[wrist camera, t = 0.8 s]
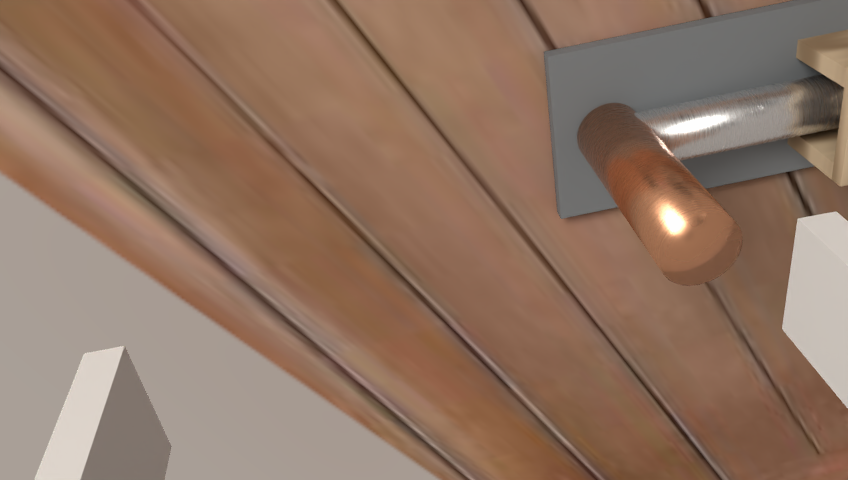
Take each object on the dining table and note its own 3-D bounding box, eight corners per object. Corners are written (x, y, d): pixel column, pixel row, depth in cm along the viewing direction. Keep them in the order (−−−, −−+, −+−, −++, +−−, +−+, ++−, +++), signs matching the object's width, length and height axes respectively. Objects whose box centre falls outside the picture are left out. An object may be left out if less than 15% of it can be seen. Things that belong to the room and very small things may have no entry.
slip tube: (578, 168, 43) (658, 292, 33) (575, 110, 41) (658, 223, 31) (885, 105, 43) (1058, 209, 33) (896, 43, 41) (1083, 134, 31)
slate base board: (557, 212, 46) (561, 218, 45) (543, 51, 40) (547, 56, 40) (1061, 107, 46) (1072, 112, 45) (1114, -66, 41) (1127, -63, 40)
